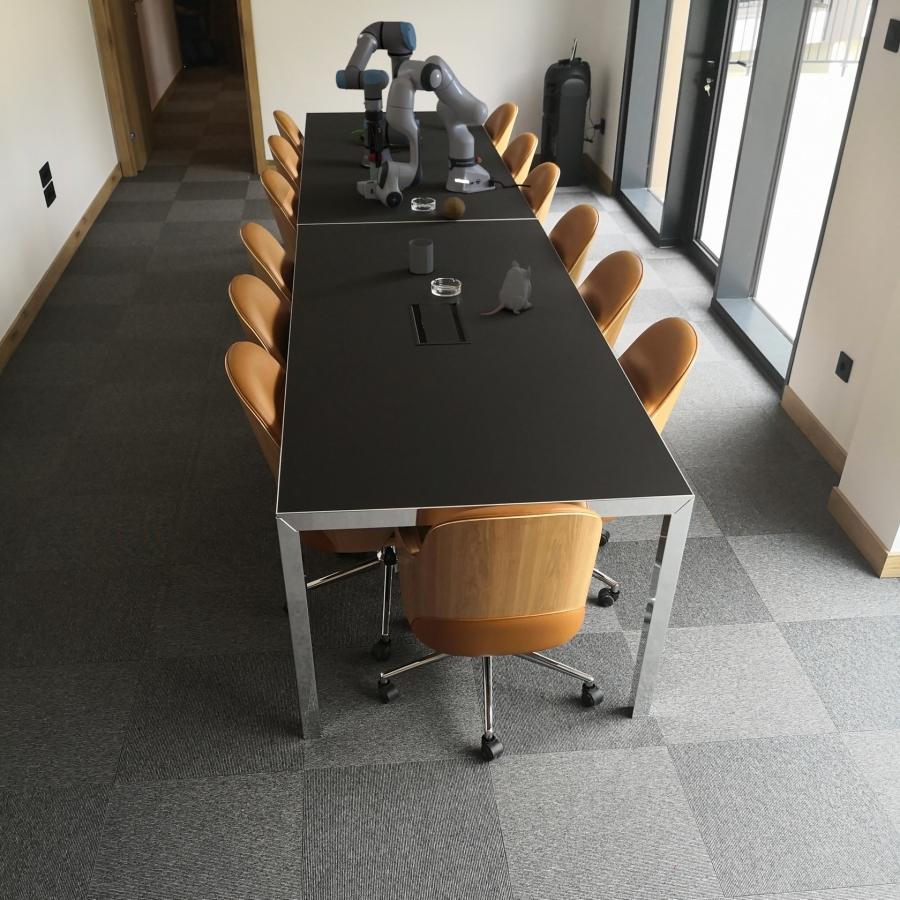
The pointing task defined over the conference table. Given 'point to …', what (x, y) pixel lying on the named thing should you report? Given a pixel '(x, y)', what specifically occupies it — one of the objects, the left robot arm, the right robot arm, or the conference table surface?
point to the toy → (515, 290)
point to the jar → (373, 171)
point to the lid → (373, 157)
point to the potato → (453, 208)
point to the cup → (421, 256)
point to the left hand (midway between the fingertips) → (376, 165)
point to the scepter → (359, 138)
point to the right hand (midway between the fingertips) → (376, 180)
